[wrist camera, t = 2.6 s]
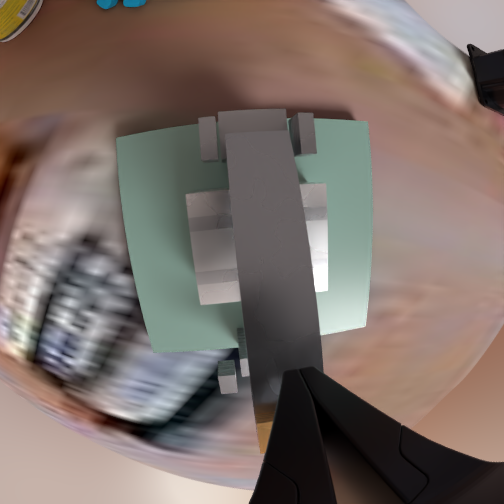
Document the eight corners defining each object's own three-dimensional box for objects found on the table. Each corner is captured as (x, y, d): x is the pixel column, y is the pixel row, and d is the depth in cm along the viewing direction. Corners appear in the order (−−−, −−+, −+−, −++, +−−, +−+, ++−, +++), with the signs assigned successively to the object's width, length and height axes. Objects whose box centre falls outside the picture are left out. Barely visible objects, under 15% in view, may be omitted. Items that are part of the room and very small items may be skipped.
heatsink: (307, 181, 14) (326, 183, 11) (310, 271, 16) (327, 290, 13) (192, 191, 14) (185, 194, 11) (204, 282, 15) (200, 305, 12)
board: (358, 124, 15) (367, 121, 14) (358, 318, 18) (365, 326, 17) (123, 140, 14) (115, 137, 12) (157, 342, 17) (153, 352, 16)
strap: (225, 145, 10) (224, 121, 9) (285, 141, 10) (292, 118, 9) (256, 432, 8) (260, 453, 7) (320, 421, 9) (333, 439, 7)
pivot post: (281, 125, 14) (311, 100, 9) (284, 161, 15) (316, 153, 10) (206, 130, 14) (197, 105, 9) (209, 167, 15) (201, 160, 9)
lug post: (282, 313, 17) (305, 365, 12) (282, 328, 18) (304, 383, 12) (218, 320, 17) (218, 376, 12) (220, 335, 17) (221, 393, 12)
